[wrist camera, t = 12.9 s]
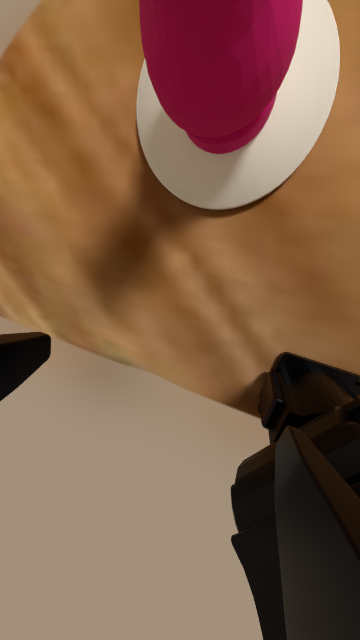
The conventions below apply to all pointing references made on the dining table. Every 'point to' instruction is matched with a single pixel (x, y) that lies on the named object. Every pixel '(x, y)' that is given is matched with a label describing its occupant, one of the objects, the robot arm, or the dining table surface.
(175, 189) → the ceramic plate
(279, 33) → the pepper mill
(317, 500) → the robot arm
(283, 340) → the dining table surface
